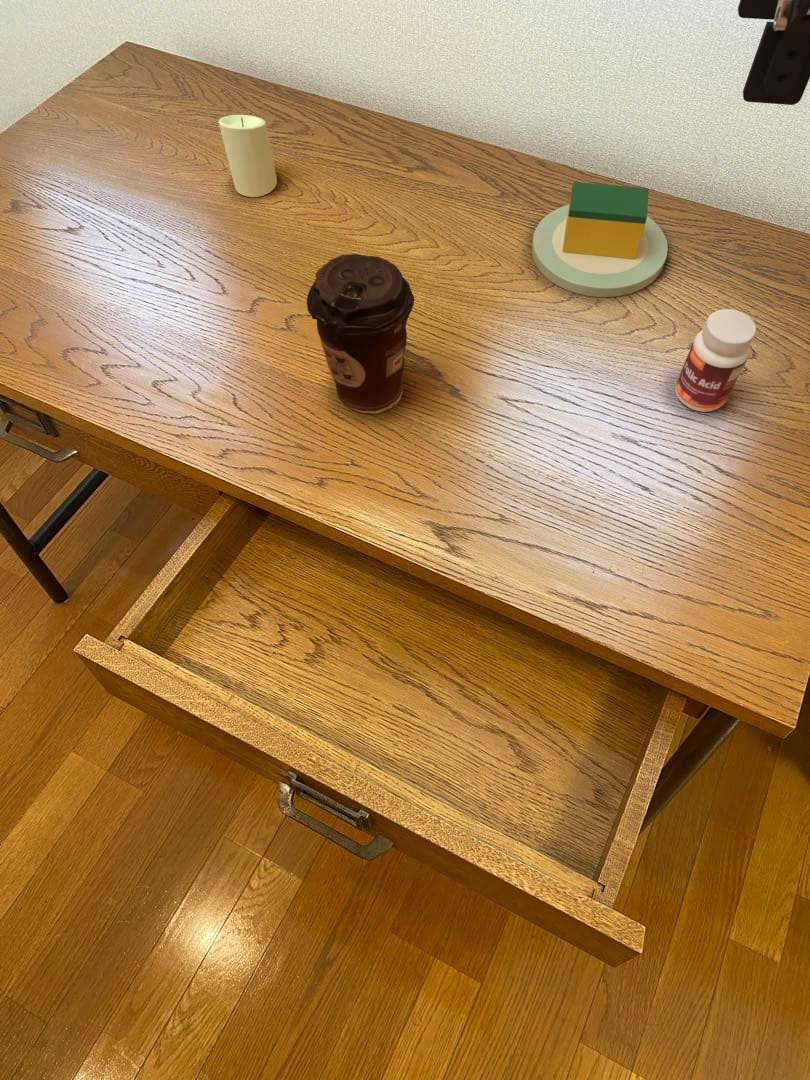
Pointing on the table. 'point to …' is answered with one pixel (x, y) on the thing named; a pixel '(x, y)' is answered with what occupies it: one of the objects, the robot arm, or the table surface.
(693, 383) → the pill bottle
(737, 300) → the table surface
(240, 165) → the candle
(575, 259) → the plate
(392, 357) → the coffee cup
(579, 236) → the sponge
